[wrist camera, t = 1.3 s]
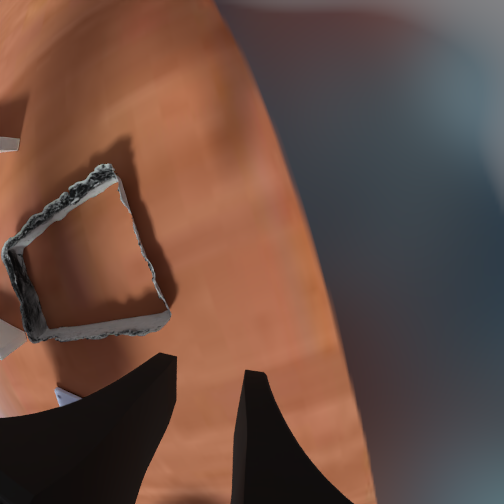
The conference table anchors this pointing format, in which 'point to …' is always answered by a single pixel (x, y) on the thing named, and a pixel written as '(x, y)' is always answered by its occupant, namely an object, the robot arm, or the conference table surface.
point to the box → (3, 334)
